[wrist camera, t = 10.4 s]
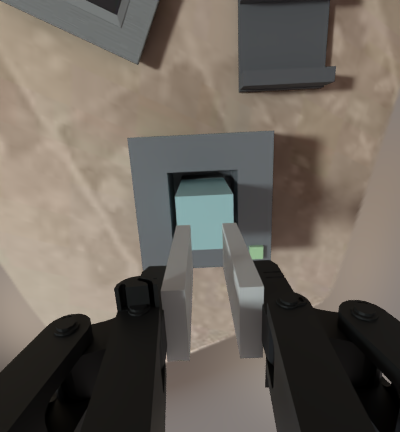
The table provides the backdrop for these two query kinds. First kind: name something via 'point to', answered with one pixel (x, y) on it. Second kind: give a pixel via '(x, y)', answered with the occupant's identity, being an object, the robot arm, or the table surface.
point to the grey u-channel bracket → (283, 45)
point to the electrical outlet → (98, 21)
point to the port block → (201, 165)
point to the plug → (204, 208)
